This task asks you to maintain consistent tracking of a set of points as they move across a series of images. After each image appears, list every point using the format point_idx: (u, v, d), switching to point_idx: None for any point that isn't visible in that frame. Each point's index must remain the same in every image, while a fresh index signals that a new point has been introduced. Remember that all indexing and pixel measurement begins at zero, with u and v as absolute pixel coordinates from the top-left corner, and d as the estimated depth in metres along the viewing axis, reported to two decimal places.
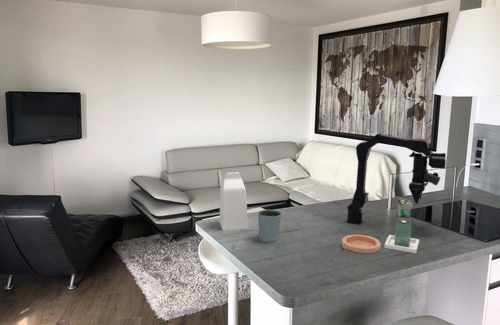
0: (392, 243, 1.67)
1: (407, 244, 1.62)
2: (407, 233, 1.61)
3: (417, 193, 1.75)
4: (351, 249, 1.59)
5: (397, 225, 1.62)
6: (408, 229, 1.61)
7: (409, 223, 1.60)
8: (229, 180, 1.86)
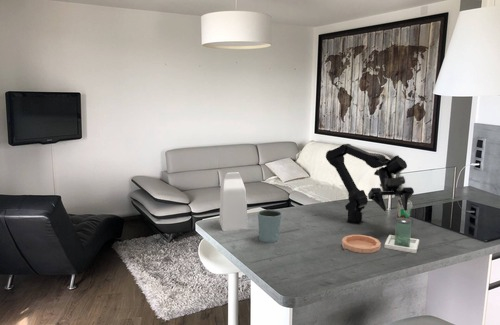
0: (392, 243, 1.67)
1: (407, 244, 1.62)
2: (407, 233, 1.61)
3: (380, 200, 1.72)
4: (351, 249, 1.59)
5: (397, 225, 1.62)
6: (408, 229, 1.61)
7: (409, 223, 1.60)
8: (229, 180, 1.86)
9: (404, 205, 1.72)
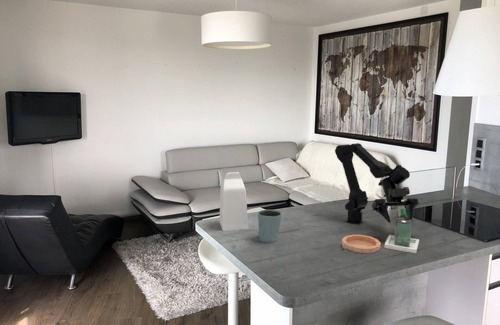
0: (392, 243, 1.67)
1: (407, 244, 1.62)
2: (407, 233, 1.61)
3: (384, 212, 1.68)
4: (351, 249, 1.59)
5: (397, 225, 1.62)
6: (408, 229, 1.61)
7: (409, 223, 1.60)
8: (229, 180, 1.86)
9: (409, 216, 1.68)
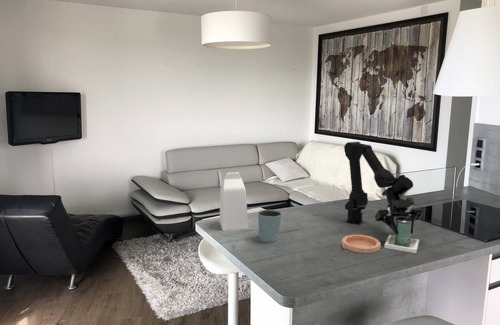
0: (392, 243, 1.67)
1: (407, 244, 1.62)
2: (407, 233, 1.61)
3: (391, 223, 1.65)
4: (351, 249, 1.59)
5: (397, 225, 1.62)
6: (408, 229, 1.61)
7: (409, 223, 1.60)
8: (229, 180, 1.86)
9: None
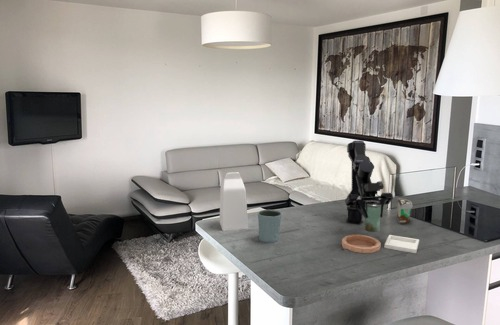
0: (392, 243, 1.67)
1: (377, 228, 1.60)
2: (377, 217, 1.59)
3: (360, 207, 1.63)
4: (351, 249, 1.59)
5: (367, 209, 1.61)
6: (377, 213, 1.59)
7: (378, 207, 1.59)
8: (229, 180, 1.86)
9: None
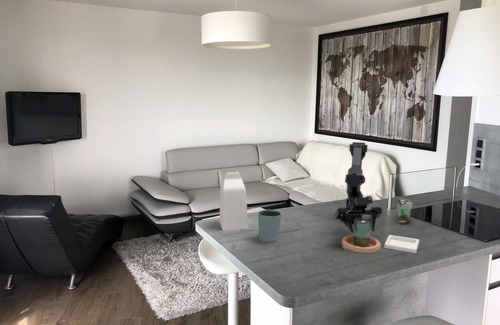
0: (392, 243, 1.67)
1: (365, 244, 1.62)
2: (365, 233, 1.61)
3: (347, 221, 1.64)
4: (351, 249, 1.59)
5: (355, 225, 1.62)
6: (366, 229, 1.61)
7: (367, 223, 1.60)
8: (229, 180, 1.86)
9: (371, 226, 1.64)
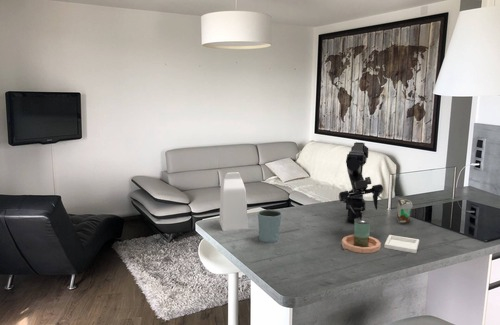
0: (392, 243, 1.67)
1: (365, 244, 1.62)
2: (365, 233, 1.61)
3: None
4: (351, 249, 1.59)
5: (355, 225, 1.62)
6: (366, 229, 1.60)
7: (367, 223, 1.60)
8: (229, 180, 1.86)
9: (374, 204, 1.72)
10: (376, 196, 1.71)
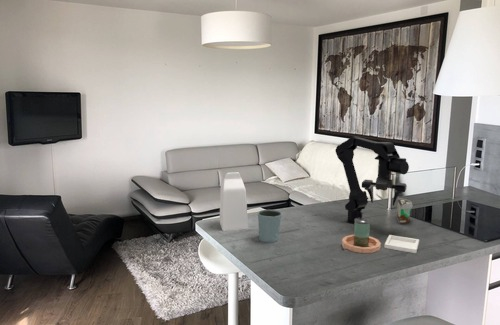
0: (392, 243, 1.67)
1: (365, 244, 1.62)
2: (365, 233, 1.61)
3: None
4: (351, 249, 1.59)
5: (355, 225, 1.62)
6: (366, 229, 1.60)
7: (367, 223, 1.60)
8: (229, 180, 1.86)
9: None
10: (396, 195, 1.77)
